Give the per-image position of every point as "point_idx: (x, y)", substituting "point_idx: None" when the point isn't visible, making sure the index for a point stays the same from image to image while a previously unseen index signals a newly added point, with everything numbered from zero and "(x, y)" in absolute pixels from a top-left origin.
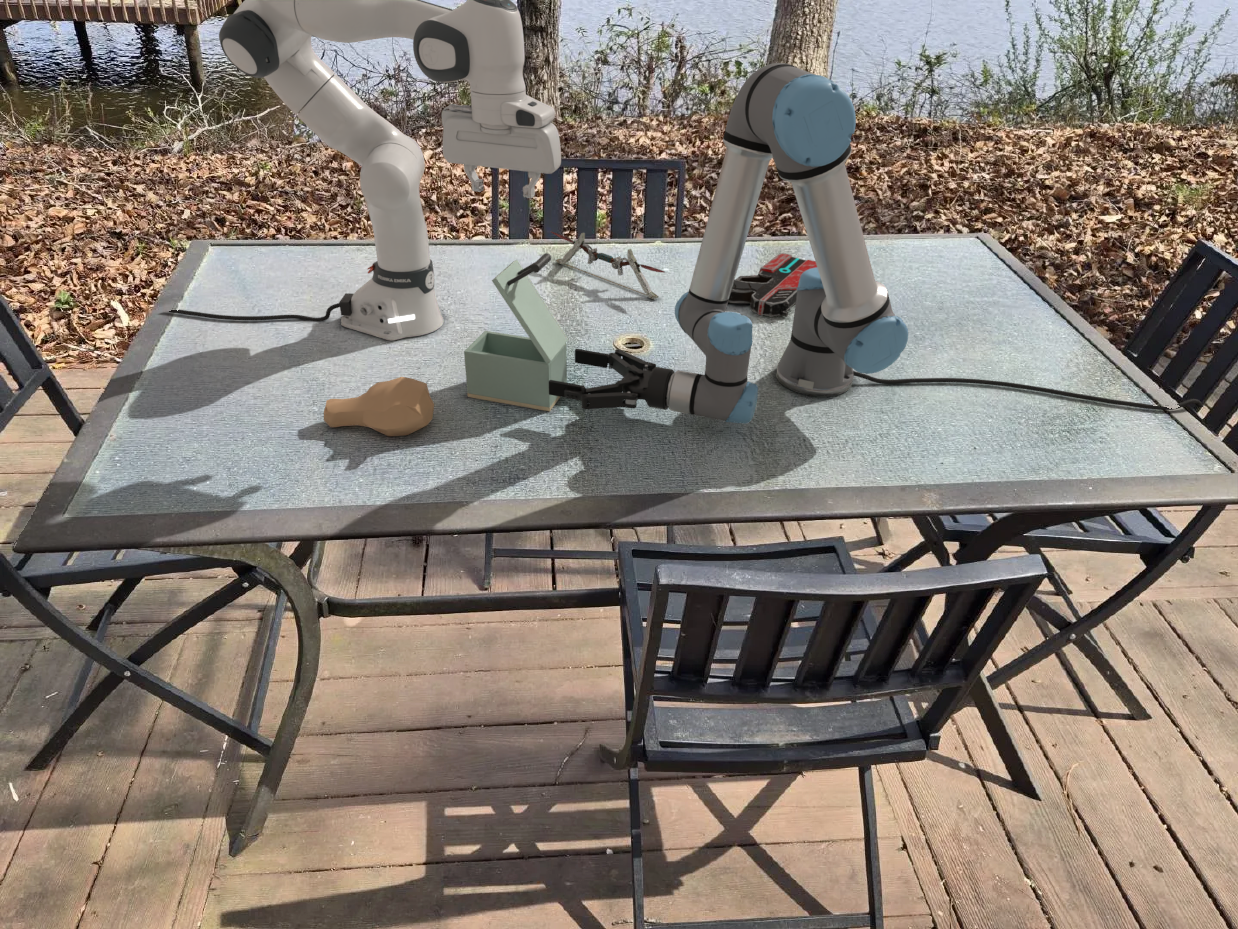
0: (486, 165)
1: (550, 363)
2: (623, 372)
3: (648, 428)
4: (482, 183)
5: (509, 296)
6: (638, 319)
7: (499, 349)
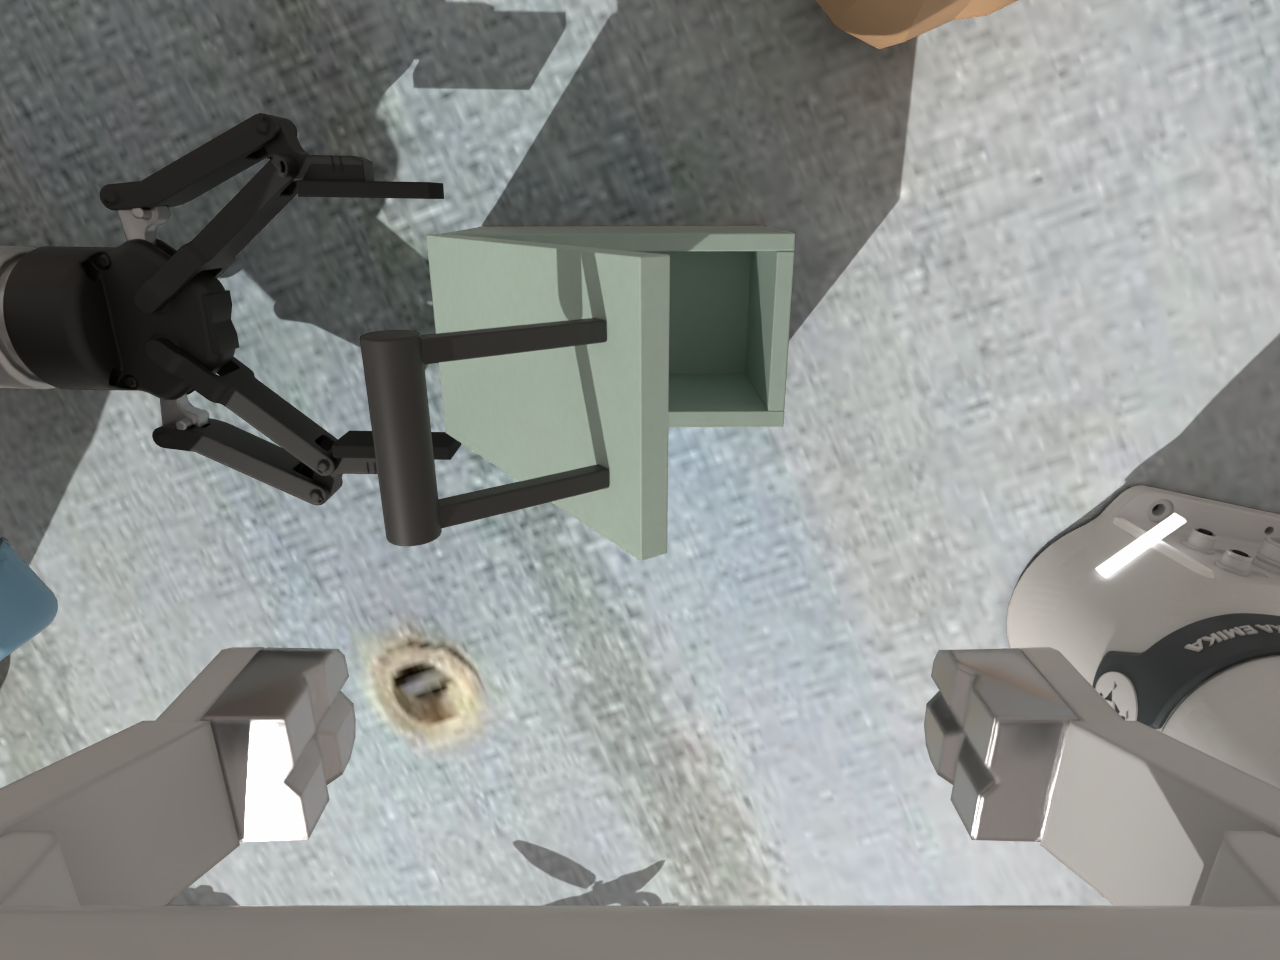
0: (933, 914)
1: None
2: (261, 392)
3: (161, 233)
4: (957, 775)
5: (571, 259)
6: (470, 822)
7: (715, 395)
